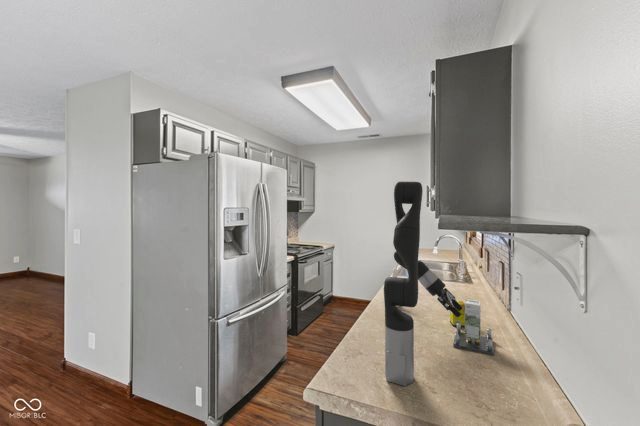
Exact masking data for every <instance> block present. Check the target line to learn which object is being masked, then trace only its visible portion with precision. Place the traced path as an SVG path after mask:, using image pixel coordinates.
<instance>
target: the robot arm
mask: <svg viewBox="0 0 640 426" xmlns="http://www.w3.org/2000/svg"><path fill="white" fill-rule="evenodd" d="M422 199H423V185H422V183H421V182H419V181H397V182H396V183H395V185H394V188H393V202H394V210H395V220H396V225H395V227H394V229H393V230H394V231H393V242H392V245H393V247H394V250H395V251H394V253H393V258H394V261H395V262H396V263H397V264H398V265H399V266H401V267H402V268H404V269H405V270H406V272H407V274H408V276H407V277H398V276H397V277H392V276H387V277H386V278H385V279H384V282H383V283H384V284H383V299H384V300H383V301H384V336H385V337H384V347H385V349H384V353H385V354H384V355H385V356H384V357H385V358H384V359H385V360H384V361H385V363H384V364H385V365H384V366H385V367H384V368H385V372H384V373H385V377H386V381H387V382H389V383H393V384H397V385H400V386H403V387H407V385H409V384H412V383H413V382H414V379H415V363H414V362H415V353H414V351H415V349H414V347H415V346H414V344H415V343H414V342H415V341H414V340H415V338H414V334H415V332H414V331H415V329H414V325H415V324H414V319H413V317H412V316H411V315H410V314H408V313H406V312H405V311H402V310H401V309H400V308H399V307H405V308H415V307H417V304H418V301H419V283H420V285H421V286H422V287H424V288H425V290H426V292H428V293H429V294H430V295H431V296H432V297H435V296H437V299H436V300H437V301H438V302H439V303H440V304H441V305H442V306H443V307H444V308H445V310H447V311H449V312H450V311H451V312H452V313H453V314H454V315H455V316H456V317H459V316H460V315H461V313H460V312H459V311H460V310H461V309H462V306H461V305H460V304H459V303H458V302H457V301H458V300H457V298H456V296H455V295H454V294H452V292H450V290H449V289H447V288H446V284H445V282H443V281H442V280H441V278H439V276H437V275H436V274H435V273H434V272H433V271H432V269H430V268H429V266H427V265H426V264H425V262H423V261H421V260H419V254H420V253H419V252H420V251H419V250H420V240H421V239H420V238H421V236H420V235H421V210H422V202H423V201H422ZM405 204H406V205H411V206H410V209H409V210H408V211H407V212H405V210H404V208H403V207H404V205H405ZM456 300H457V301H456ZM452 303H453V304H452ZM396 306H399V307H396Z"/></svg>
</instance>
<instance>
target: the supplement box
mask: <svg viewBox="0 0 640 426" xmlns="http://www.w3.org/2000/svg"><path fill="white" fill-rule="evenodd" d="M456 301H457V302H458V303H459V304H460V305H461V306H462V309H461V310H460V311H459V312H460V313H461V315H460V316H459V317H456V316H455V315H454V314H453V313H452V312H451V311H449V323H450V324H451V326H452V327H457V323H460V324H461V327H462V328H465V301H463V300H458V299H456ZM452 304H453V303H452Z"/></svg>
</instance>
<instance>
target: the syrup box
mask: <svg viewBox="0 0 640 426" xmlns="http://www.w3.org/2000/svg"><path fill="white" fill-rule="evenodd" d="M464 303H465V327H464V333H465V337H467V338H472V339H477V340H480V337H481V336H482V335H481V329H482V327H481V325H482V324H481V316H482V315H481V311H482V309H481V308H482V307H481V306H482V305H481V301H480V300H473V299H467V298H466V299H465V300H464Z"/></svg>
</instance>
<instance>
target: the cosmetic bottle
mask: <svg viewBox="0 0 640 426" xmlns="http://www.w3.org/2000/svg"><path fill="white" fill-rule="evenodd" d="M391 272H392V276H391V277H398V268H397V267H392V271H391ZM396 307H397V308H399V307H400V306H396Z"/></svg>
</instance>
